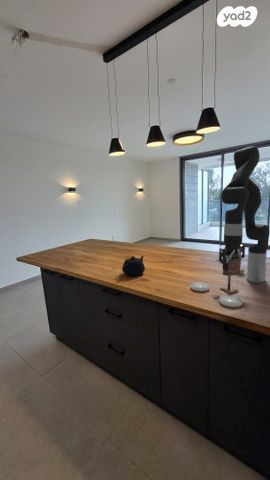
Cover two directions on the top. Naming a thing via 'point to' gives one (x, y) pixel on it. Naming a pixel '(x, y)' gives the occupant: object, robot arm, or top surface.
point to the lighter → (233, 266)
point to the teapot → (133, 266)
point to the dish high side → (199, 286)
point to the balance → (228, 288)
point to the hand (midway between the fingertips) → (231, 268)
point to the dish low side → (230, 301)
